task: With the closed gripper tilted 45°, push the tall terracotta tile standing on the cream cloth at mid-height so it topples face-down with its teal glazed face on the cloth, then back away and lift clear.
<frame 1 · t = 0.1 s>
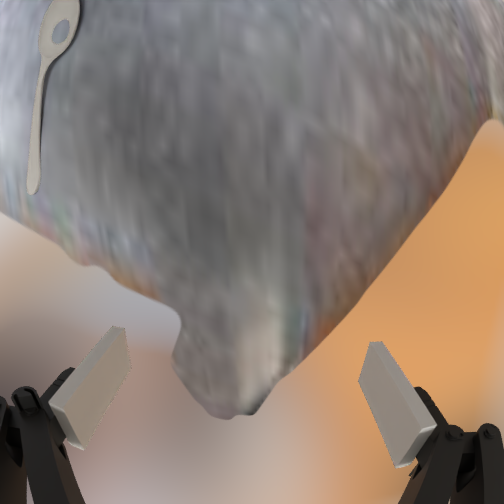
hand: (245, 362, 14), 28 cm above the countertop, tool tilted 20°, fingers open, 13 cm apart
spoon: (46, 94, 30), on the countertop
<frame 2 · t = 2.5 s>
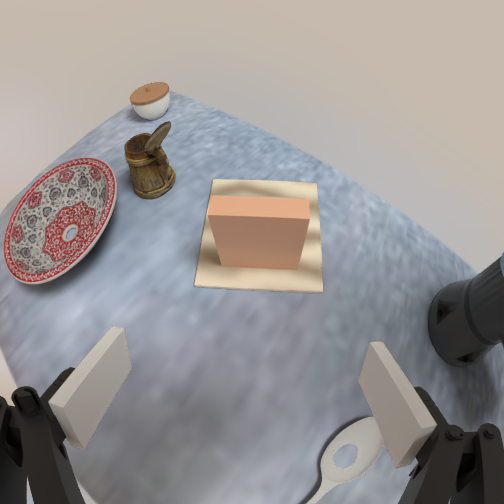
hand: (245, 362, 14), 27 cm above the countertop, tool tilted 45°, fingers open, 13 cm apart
lidded jar: (155, 114, 70), on the countertop
cream cloth: (261, 230, 50), on the countertop
ceramic tile: (260, 259, 46), point 1 cm above the countertop, touching cream cloth
ceramic bowl: (72, 234, 52), on the countertop
wooden mug: (162, 187, 56), on the countertop
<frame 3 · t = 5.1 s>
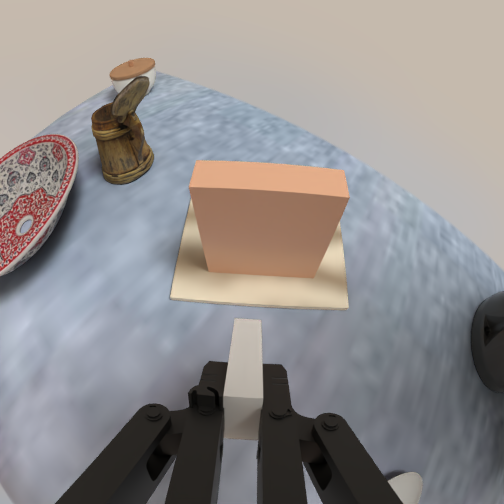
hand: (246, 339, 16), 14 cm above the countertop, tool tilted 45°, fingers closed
lidded jar: (138, 94, 57), on the countertop
cream cloth: (263, 225, 37), on the countertop
ceramic tile: (262, 263, 33), point 1 cm above the countertop, touching cream cloth
ceramic bowl: (27, 228, 37), on the countertop
wooden mug: (136, 170, 43), on the countertop
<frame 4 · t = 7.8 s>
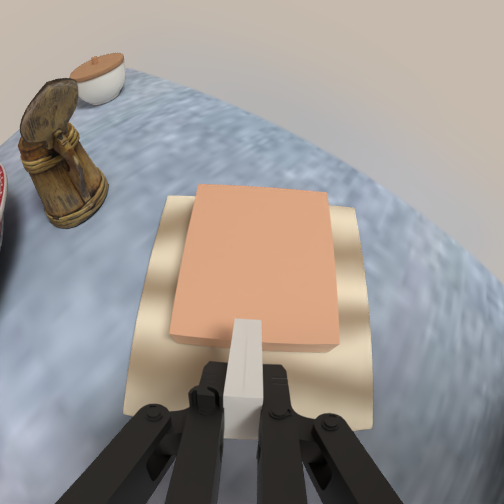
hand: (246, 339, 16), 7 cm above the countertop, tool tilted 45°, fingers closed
lidded jar: (105, 98, 44), on the countertop
cream cloth: (255, 304, 25), on the countertop
ceramic tile: (254, 346, 20), point 3 cm above the countertop, tilted 90°, touching cream cloth
wooden mug: (86, 207, 30), on the countertop
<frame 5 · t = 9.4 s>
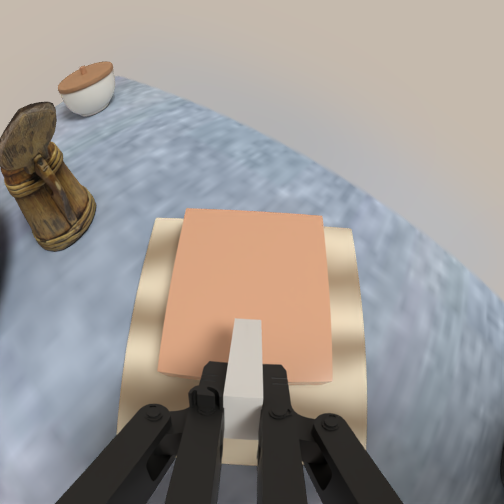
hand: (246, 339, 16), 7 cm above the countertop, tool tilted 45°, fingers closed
lidded jar: (95, 108, 43), on the countertop
cream cloth: (247, 335, 23), on the countertop
ceramic tile: (244, 382, 19), point 3 cm above the countertop, tilted 90°, touching cream cloth
wooden mug: (74, 229, 29), on the countertop
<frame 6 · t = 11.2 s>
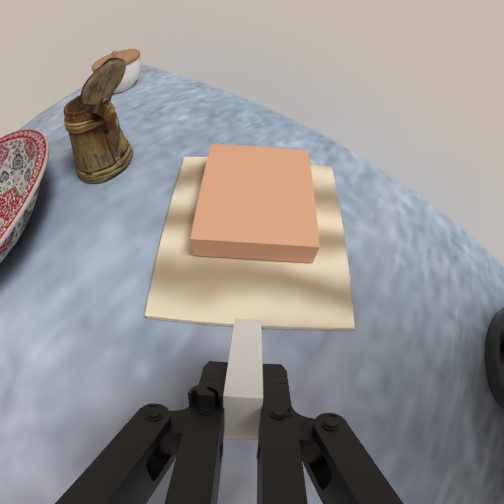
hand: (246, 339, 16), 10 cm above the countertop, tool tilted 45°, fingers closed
lidded jar: (121, 87, 51), on the countertop
cream cloth: (254, 230, 32), on the countertop
ceramic tile: (254, 251, 28), point 3 cm above the countertop, tilted 90°, touching cream cloth
wooden mug: (113, 168, 37), on the countertop
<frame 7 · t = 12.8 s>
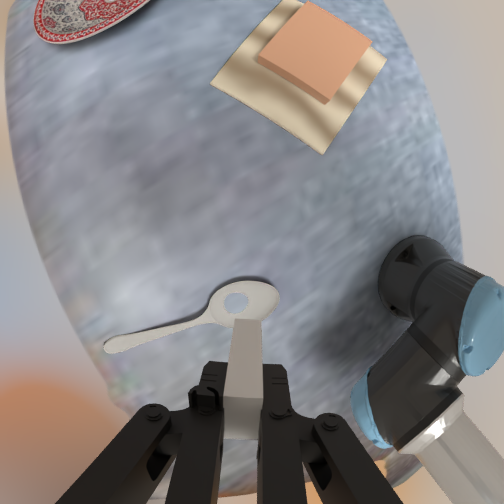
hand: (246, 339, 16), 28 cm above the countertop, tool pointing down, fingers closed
cream cloth: (304, 66, 37), on the countertop
ceramic tile: (292, 79, 36), point 3 cm above the countertop, tilted 90°, touching cream cloth
spoon: (181, 321, 48), on the countertop
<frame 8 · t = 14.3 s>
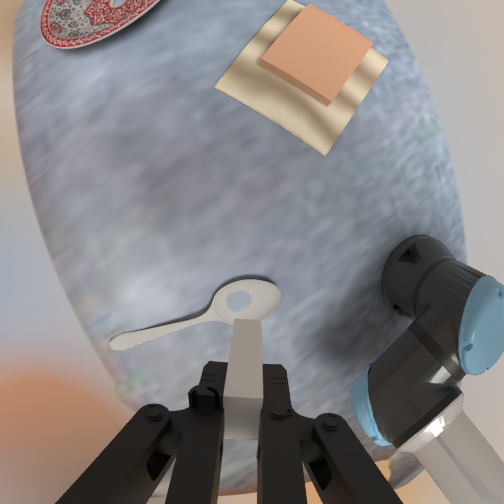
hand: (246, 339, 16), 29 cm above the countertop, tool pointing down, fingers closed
cream cloth: (307, 68, 38), on the countertop
ceramic tile: (295, 82, 36), point 3 cm above the countertop, tilted 90°, touching cream cloth
ceramic bowl: (120, 1, 34), on the countertop
spoon: (185, 319, 49), on the countertop
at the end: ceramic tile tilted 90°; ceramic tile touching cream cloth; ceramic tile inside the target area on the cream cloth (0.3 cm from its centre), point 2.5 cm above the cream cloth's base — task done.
